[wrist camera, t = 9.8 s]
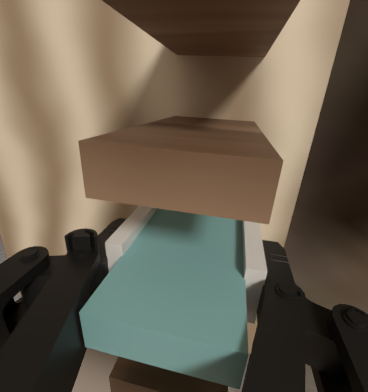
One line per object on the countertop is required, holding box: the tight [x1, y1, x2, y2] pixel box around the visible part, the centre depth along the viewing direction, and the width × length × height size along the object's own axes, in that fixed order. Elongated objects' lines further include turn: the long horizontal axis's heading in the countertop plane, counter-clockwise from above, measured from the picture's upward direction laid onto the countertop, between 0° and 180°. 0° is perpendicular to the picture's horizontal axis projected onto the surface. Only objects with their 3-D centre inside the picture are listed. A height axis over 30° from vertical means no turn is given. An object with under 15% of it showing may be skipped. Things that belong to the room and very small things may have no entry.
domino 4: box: [109, 357, 228, 392], centre depth 14 cm, size 2×5×10 cm, turn 87°
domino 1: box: [102, 0, 300, 57], centre depth 8 cm, size 2×5×10 cm, turn 87°
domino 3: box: [79, 208, 248, 389], centre depth 11 cm, size 2×5×10 cm, turn 87°
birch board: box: [0, 0, 350, 354], centre depth 19 cm, size 26×30×1 cm
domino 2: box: [78, 116, 283, 224], centre depth 10 cm, size 2×5×10 cm, turn 87°
